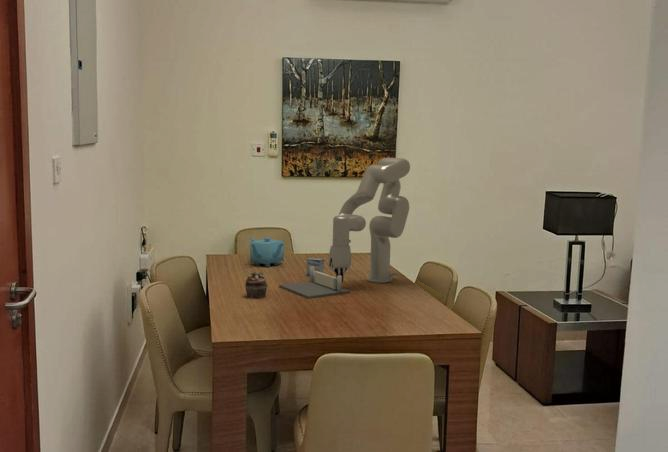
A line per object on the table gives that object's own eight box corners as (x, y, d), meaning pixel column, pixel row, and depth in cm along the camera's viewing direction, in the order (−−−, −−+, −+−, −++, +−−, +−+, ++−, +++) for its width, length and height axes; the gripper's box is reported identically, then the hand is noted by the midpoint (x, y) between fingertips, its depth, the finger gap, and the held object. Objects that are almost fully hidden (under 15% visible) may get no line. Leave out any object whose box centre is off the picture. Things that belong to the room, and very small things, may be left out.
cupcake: (241, 297, 273) (241, 274, 272) (251, 292, 283) (251, 270, 281) (261, 299, 270) (261, 276, 269) (271, 294, 279) (271, 272, 278)
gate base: (319, 282, 306) (319, 265, 305) (349, 292, 286) (350, 275, 285) (279, 287, 294) (279, 269, 293) (308, 298, 274) (308, 280, 273)
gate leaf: (315, 281, 302) (315, 270, 301) (339, 289, 286) (339, 278, 285) (312, 281, 300) (312, 271, 300) (335, 289, 285) (335, 278, 284)
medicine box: (306, 275, 320) (306, 258, 319) (309, 274, 324) (310, 257, 323) (320, 277, 317) (320, 260, 316) (324, 275, 321) (324, 258, 320)
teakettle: (282, 261, 357) (282, 235, 356) (285, 267, 339) (285, 240, 337) (248, 261, 354) (248, 235, 352) (249, 268, 336) (249, 240, 334)
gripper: (349, 240, 300) (348, 279, 302) (322, 242, 291) (321, 282, 293) (358, 243, 293) (357, 282, 296) (331, 245, 285) (330, 285, 287)
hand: (339, 282), depth 295 cm, fingers closed
